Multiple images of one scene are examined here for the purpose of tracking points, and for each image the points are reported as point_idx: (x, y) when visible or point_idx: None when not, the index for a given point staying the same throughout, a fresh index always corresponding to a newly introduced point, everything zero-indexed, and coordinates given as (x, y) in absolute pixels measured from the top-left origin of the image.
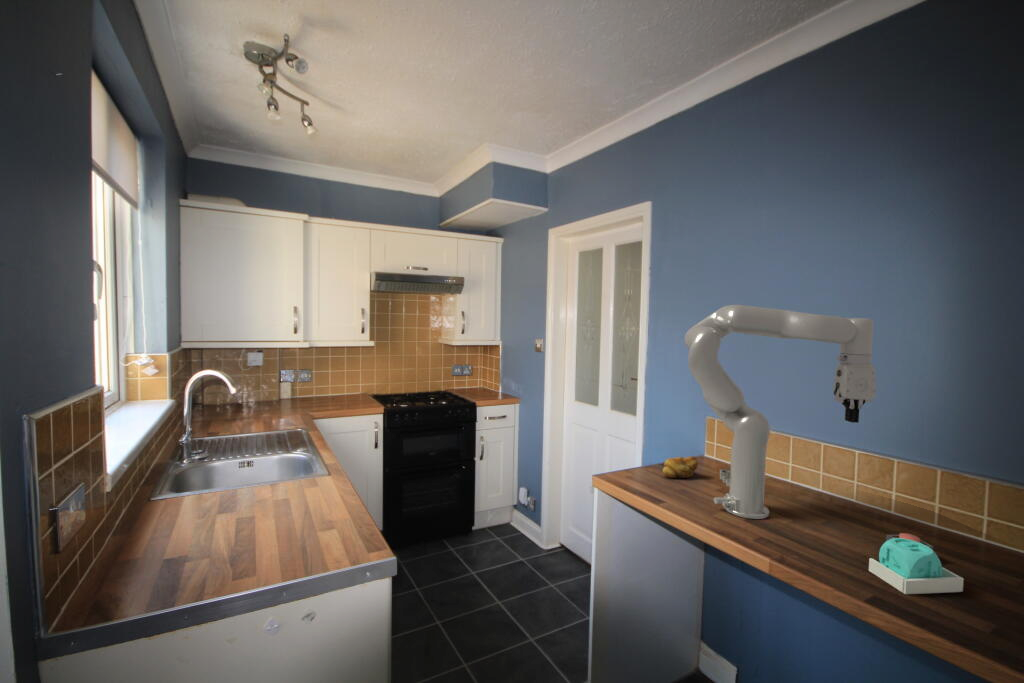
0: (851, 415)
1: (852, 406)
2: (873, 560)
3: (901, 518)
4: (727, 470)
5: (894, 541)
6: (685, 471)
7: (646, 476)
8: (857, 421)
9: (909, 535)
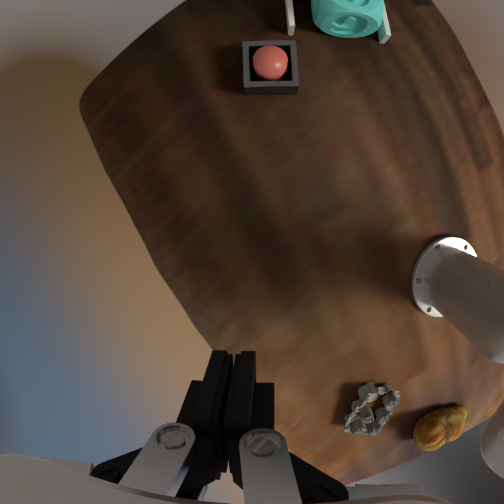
0: (254, 397)
1: (257, 451)
2: (389, 29)
3: (142, 227)
4: (363, 433)
5: (370, 2)
6: (445, 413)
7: (478, 405)
8: (221, 352)
9: (265, 64)
